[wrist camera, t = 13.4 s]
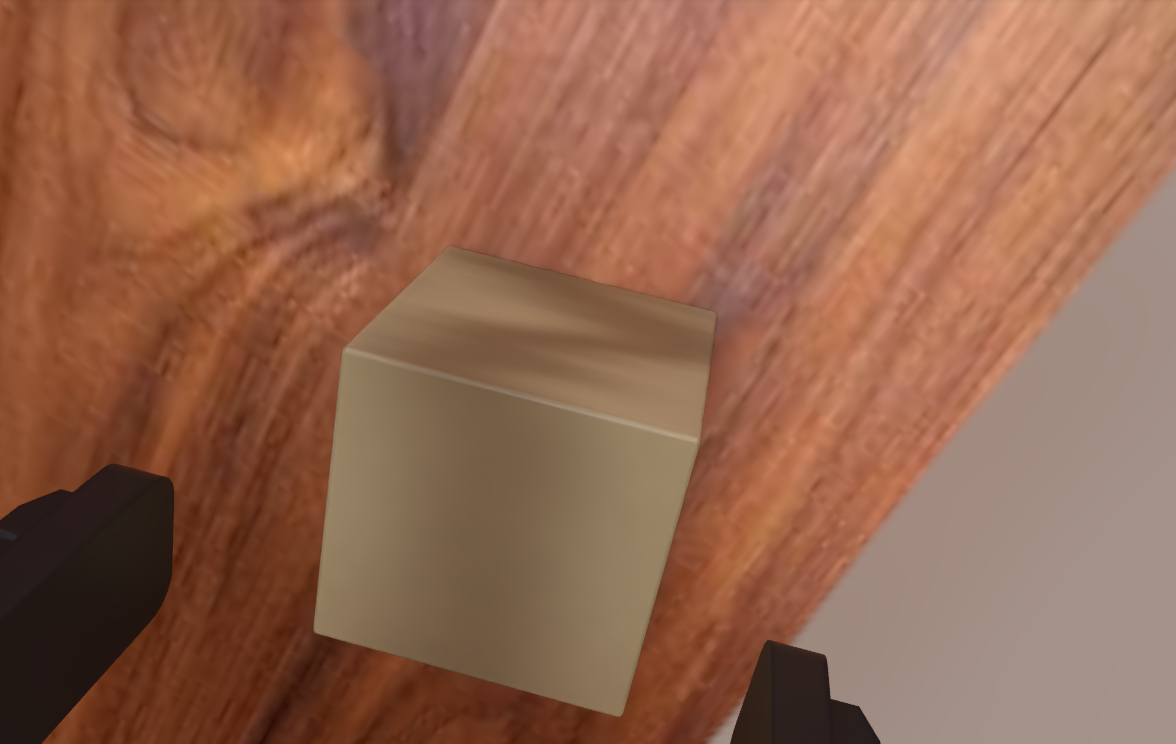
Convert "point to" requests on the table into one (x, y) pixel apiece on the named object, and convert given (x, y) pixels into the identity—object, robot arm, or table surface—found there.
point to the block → (512, 475)
